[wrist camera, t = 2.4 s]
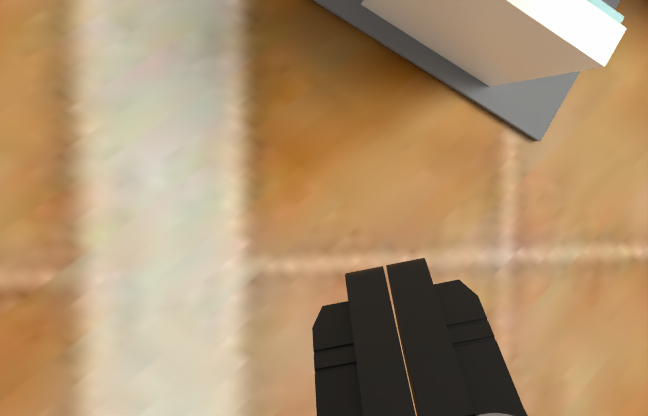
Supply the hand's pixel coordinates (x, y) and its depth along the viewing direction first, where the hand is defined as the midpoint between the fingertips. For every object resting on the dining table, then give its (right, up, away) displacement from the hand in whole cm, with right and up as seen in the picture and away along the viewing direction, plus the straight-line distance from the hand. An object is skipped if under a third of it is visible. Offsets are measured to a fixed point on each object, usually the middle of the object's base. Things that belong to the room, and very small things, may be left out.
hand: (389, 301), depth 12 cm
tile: (+4, +11, +20) cm, 23 cm away
